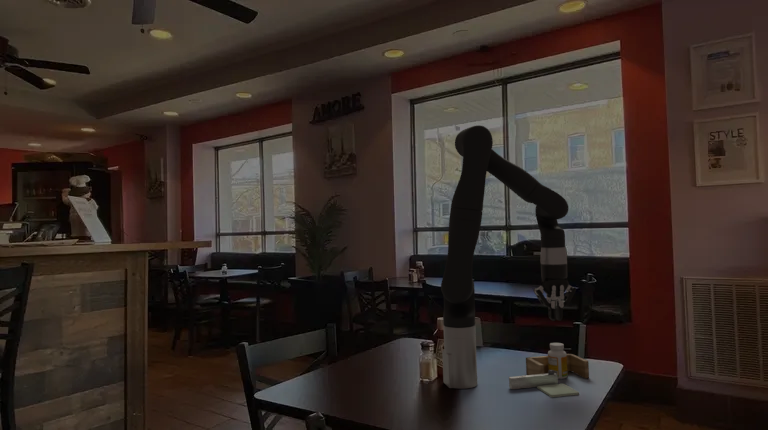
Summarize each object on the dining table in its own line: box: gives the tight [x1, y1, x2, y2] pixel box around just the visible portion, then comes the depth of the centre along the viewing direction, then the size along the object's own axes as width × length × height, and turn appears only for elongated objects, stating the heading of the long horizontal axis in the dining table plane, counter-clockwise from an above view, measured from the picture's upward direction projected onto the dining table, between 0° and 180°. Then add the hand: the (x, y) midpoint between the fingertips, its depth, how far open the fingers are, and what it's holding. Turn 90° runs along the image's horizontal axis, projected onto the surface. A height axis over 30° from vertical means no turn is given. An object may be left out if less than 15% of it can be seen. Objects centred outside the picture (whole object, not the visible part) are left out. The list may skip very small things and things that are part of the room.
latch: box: [508, 370, 559, 390], centre depth 146 cm, size 14×2×4 cm, turn 100°
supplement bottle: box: [547, 342, 568, 380], centre depth 155 cm, size 5×5×10 cm
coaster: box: [536, 383, 580, 398], centre depth 141 cm, size 8×8×1 cm
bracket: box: [525, 353, 590, 379], centre depth 155 cm, size 15×9×5 cm, turn 100°
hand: (556, 320), depth 155 cm, fingers closed
